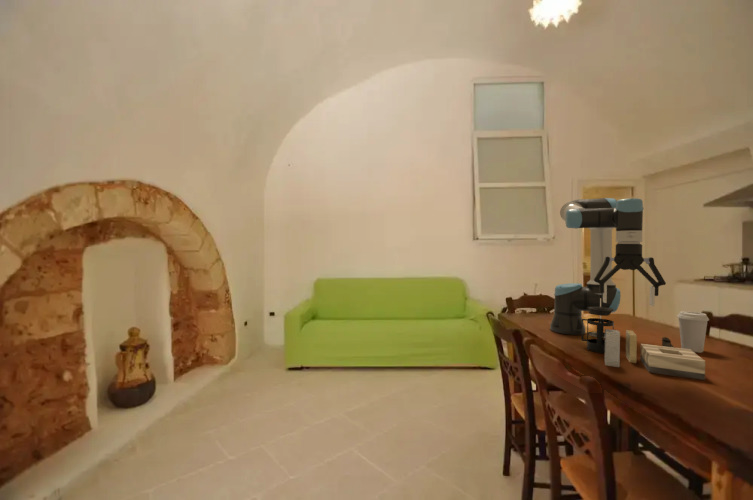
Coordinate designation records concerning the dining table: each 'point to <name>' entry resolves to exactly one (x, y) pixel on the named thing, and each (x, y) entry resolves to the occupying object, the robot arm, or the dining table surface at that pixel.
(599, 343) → the french press
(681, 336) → the coffee cup
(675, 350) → the bore block
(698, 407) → the dining table surface
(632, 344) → the beige rectangular slab
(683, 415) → the dining table surface
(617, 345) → the square bit
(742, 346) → the dining table surface
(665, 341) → the hand tool
